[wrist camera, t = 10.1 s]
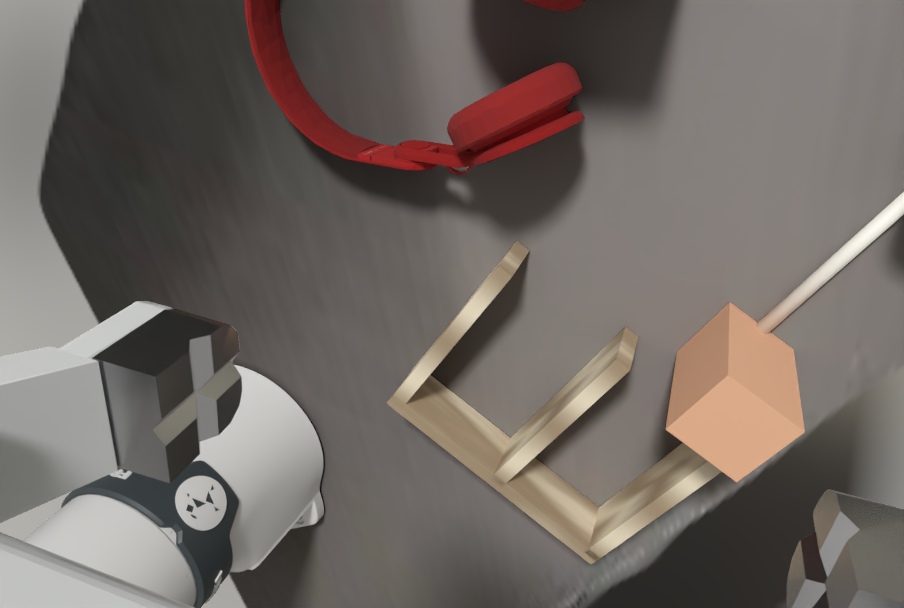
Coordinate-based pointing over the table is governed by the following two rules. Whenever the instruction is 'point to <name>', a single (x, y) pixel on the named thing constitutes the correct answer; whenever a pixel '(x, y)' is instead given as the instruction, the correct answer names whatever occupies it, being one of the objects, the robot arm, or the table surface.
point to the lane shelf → (545, 439)
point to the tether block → (750, 374)
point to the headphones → (471, 130)
